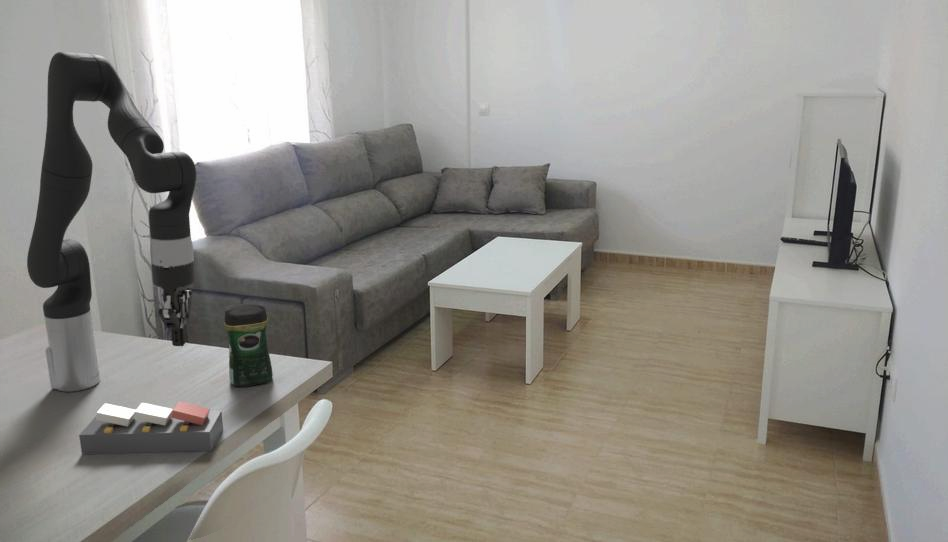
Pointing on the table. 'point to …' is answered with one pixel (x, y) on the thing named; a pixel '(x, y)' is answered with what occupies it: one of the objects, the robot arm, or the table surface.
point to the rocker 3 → (190, 413)
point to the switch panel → (151, 436)
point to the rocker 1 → (115, 414)
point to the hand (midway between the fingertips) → (179, 344)
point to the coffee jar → (248, 344)
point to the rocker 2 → (153, 414)
